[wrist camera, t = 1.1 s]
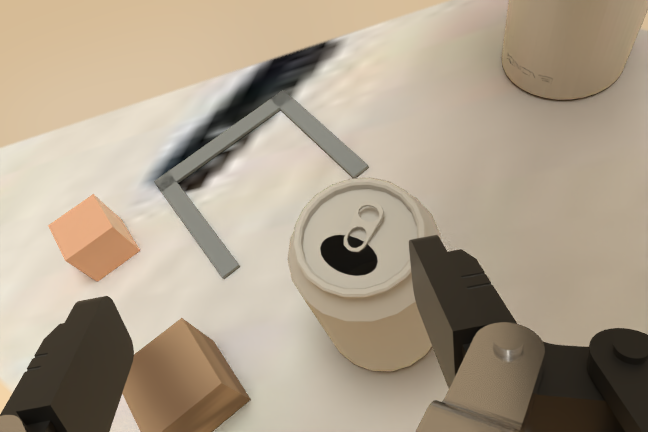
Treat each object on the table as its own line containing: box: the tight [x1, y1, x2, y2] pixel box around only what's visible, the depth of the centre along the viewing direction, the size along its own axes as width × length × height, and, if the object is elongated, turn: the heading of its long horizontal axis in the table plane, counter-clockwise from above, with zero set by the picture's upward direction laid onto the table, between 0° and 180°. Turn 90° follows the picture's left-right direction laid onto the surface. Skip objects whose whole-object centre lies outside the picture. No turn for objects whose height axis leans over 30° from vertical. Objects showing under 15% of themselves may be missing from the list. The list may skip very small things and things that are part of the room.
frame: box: [154, 90, 369, 279], centre depth 41 cm, size 14×12×1 cm
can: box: [288, 178, 440, 371], centre depth 28 cm, size 8×8×12 cm
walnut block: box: [122, 318, 251, 432], centre depth 31 cm, size 5×5×5 cm
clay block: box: [48, 194, 140, 282], centre depth 39 cm, size 4×4×4 cm
